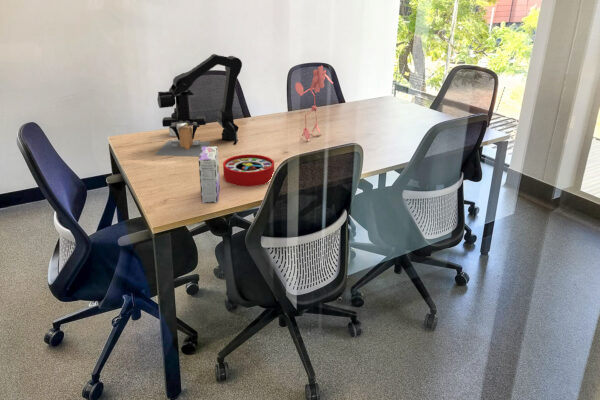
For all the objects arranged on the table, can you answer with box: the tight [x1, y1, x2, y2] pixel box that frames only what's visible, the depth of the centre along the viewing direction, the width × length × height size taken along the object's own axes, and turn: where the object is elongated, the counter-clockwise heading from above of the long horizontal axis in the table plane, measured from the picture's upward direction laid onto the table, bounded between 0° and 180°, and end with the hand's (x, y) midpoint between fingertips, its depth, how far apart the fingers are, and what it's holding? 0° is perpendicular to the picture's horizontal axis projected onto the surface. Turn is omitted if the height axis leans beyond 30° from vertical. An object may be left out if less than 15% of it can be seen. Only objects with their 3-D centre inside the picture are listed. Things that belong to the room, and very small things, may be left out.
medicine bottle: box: [168, 112, 190, 137], centre depth 233 cm, size 7×7×12 cm
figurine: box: [294, 65, 334, 140], centre depth 229 cm, size 15×26×35 cm, turn 146°
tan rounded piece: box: [178, 126, 194, 149], centre depth 218 cm, size 11×6×8 cm, turn 18°
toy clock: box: [222, 153, 275, 187], centre depth 191 cm, size 20×6×20 cm
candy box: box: [198, 145, 221, 204], centre depth 172 cm, size 14×6×16 cm, turn 5°
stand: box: [154, 138, 212, 158], centre depth 215 cm, size 20×20×8 cm
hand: (186, 139), depth 219 cm, fingers closed on tan rounded piece, 6 cm apart
